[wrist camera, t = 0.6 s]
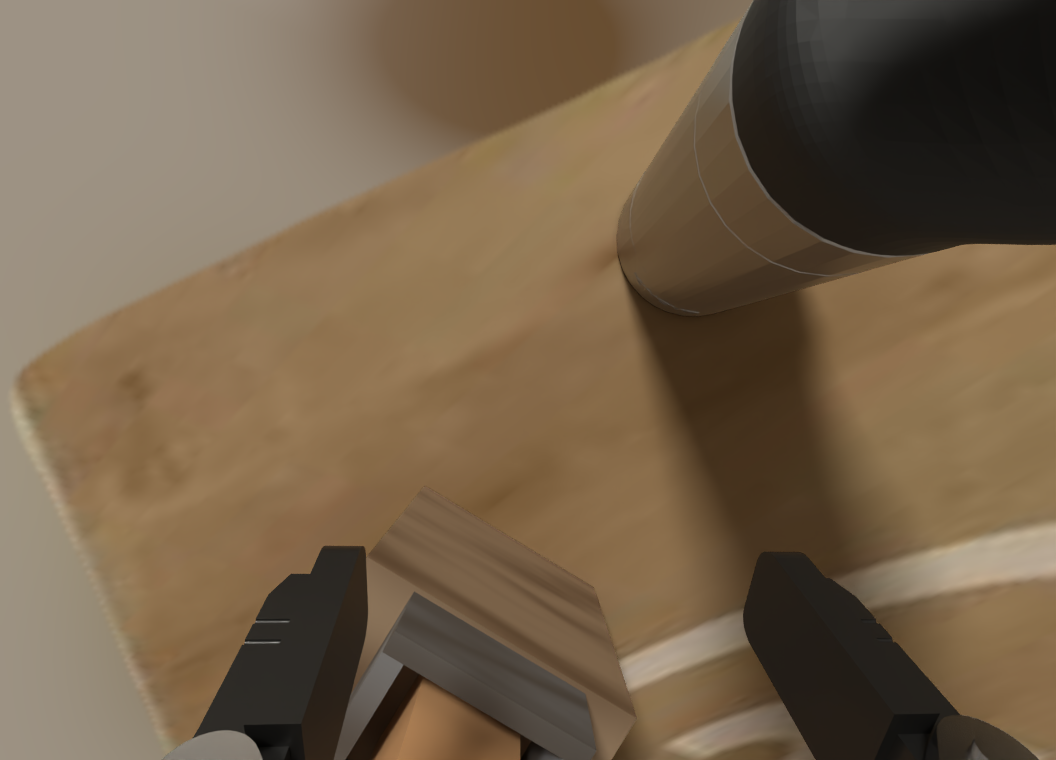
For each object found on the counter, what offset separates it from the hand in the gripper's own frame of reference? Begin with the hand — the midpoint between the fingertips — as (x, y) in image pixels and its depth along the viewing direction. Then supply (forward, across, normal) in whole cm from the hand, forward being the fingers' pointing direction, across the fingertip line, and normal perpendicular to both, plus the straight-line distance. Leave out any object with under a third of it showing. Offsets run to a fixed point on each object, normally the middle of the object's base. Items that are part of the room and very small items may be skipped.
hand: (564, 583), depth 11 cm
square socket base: (+17, +2, +16) cm, 23 cm away
